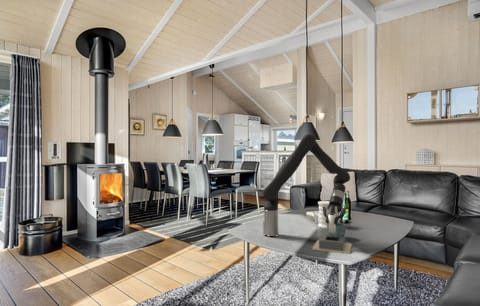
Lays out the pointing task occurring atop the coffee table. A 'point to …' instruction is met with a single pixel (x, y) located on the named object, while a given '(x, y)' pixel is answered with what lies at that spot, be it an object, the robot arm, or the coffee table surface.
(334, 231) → the plug
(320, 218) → the decorative container
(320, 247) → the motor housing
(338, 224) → the flower pot
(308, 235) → the coffee table surface
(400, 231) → the coffee table surface
